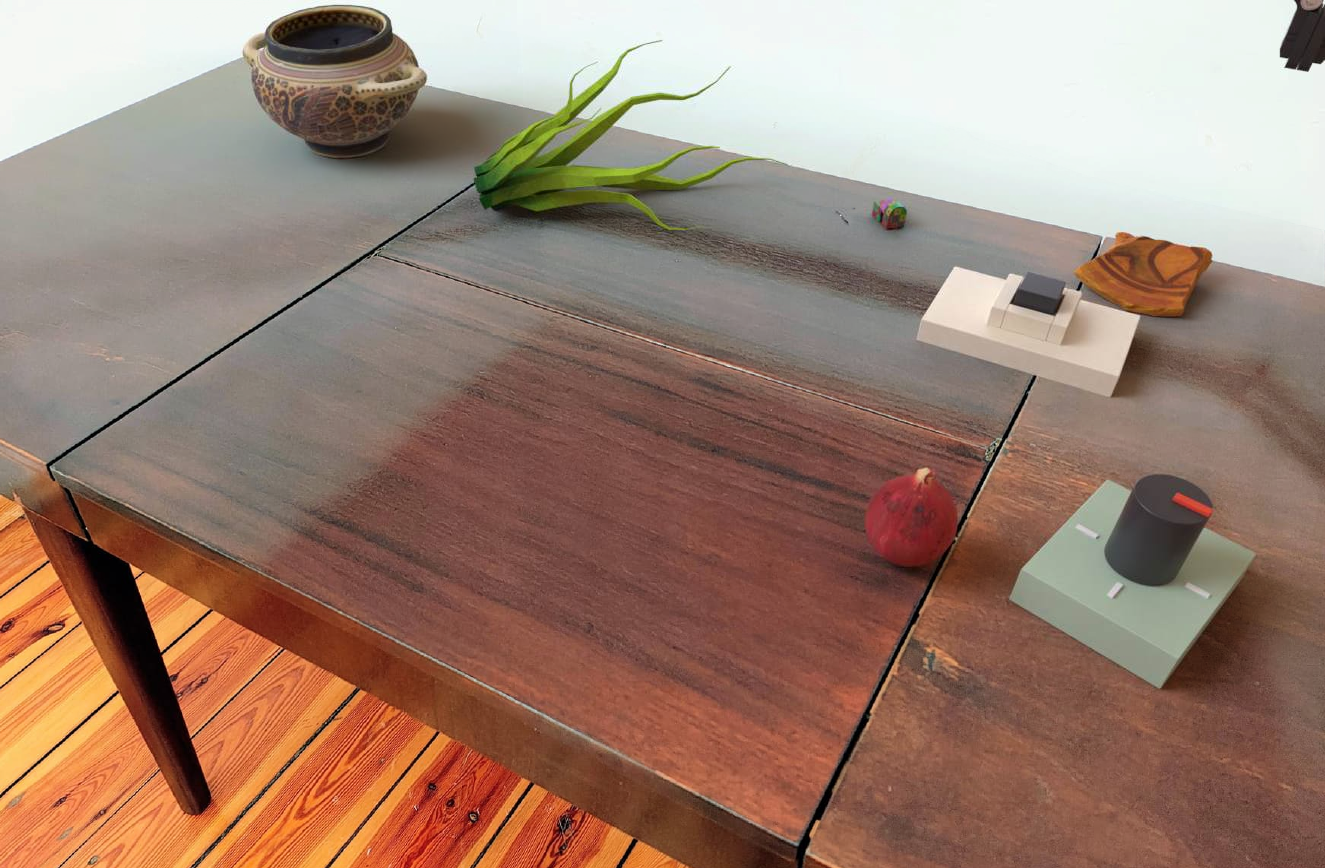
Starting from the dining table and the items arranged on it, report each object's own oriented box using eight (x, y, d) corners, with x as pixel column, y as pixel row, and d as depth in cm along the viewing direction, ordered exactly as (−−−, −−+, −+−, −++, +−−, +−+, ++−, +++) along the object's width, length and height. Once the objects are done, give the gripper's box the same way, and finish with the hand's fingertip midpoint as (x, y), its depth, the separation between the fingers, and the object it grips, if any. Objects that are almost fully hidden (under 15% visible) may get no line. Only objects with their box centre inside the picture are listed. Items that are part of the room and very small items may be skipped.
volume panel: (1093, 509, 73) (1108, 477, 71) (1237, 584, 68) (1258, 551, 66) (1008, 599, 67) (1022, 566, 65) (1159, 689, 62) (1180, 657, 60)
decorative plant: (756, 265, 98) (774, 115, 88) (466, 220, 104) (452, 75, 94) (785, 181, 111) (804, 41, 101) (525, 145, 117) (519, 10, 107)
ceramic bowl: (238, 155, 122) (178, 38, 109) (341, 72, 129) (295, -46, 116) (385, 217, 111) (335, 95, 99) (488, 123, 118) (454, -2, 106)
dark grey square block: (1021, 289, 88) (1027, 271, 87) (1060, 299, 87) (1066, 281, 86) (1012, 306, 86) (1018, 288, 85) (1051, 317, 85) (1058, 299, 84)
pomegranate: (937, 601, 67) (967, 514, 62) (849, 578, 69) (871, 491, 63) (947, 541, 71) (976, 454, 66) (864, 520, 73) (885, 434, 67)
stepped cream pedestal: (949, 286, 95) (959, 248, 92) (1132, 336, 89) (1148, 297, 86) (915, 340, 89) (926, 300, 86) (1110, 398, 83) (1127, 357, 80)
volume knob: (1092, 561, 66) (1123, 495, 62) (1121, 525, 68) (1153, 459, 64) (1161, 597, 63) (1198, 531, 59) (1188, 559, 66) (1226, 493, 62)
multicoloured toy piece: (912, 225, 103) (917, 204, 102) (886, 229, 103) (890, 207, 101) (893, 206, 106) (897, 185, 105) (867, 209, 106) (871, 188, 104)
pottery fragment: (1218, 247, 94) (1202, 278, 87) (1198, 294, 97) (1181, 328, 90) (1104, 219, 99) (1080, 247, 92) (1087, 265, 101) (1063, 295, 94)
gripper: (1578, -249, 57) (1410, 66, 69) (1310, -266, 62) (1197, 31, 74) (1592, -229, 52) (1410, 106, 64) (1301, -249, 57) (1182, 66, 69)
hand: (1296, 65), depth 69 cm, fingers closed
